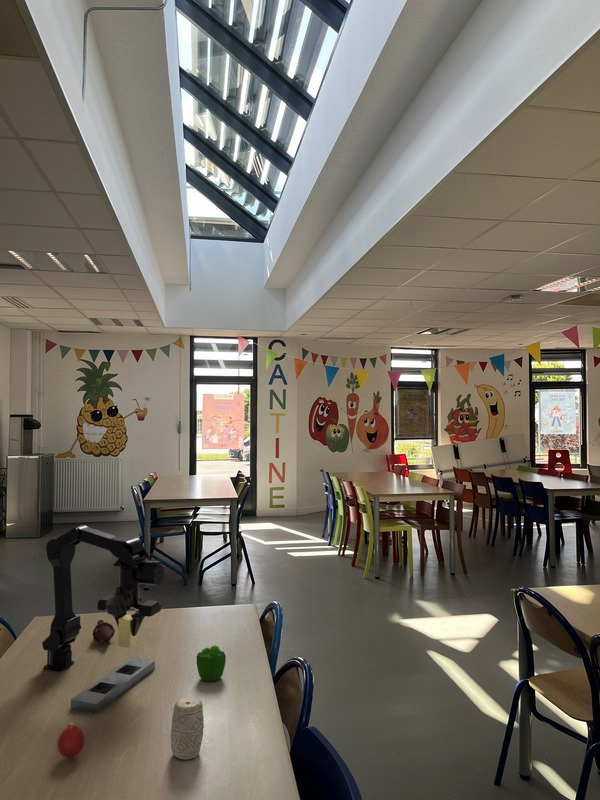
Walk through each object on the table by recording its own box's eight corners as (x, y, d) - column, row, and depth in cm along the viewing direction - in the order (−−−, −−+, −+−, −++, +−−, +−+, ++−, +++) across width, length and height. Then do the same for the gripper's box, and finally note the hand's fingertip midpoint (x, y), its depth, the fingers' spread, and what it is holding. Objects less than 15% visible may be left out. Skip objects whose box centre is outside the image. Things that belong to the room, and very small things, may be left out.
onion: (62, 751, 132) (62, 716, 132) (87, 750, 132) (88, 715, 132) (53, 766, 126) (54, 730, 126) (80, 765, 126) (80, 729, 127)
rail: (70, 708, 151) (70, 699, 151) (132, 665, 177) (132, 657, 177) (96, 713, 148) (96, 704, 148) (154, 668, 175) (154, 660, 175)
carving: (204, 760, 129) (204, 706, 129) (169, 764, 127) (171, 709, 128) (202, 744, 135) (203, 693, 135) (170, 748, 134) (171, 696, 134)
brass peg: (118, 646, 167) (118, 618, 168) (126, 641, 171) (126, 614, 171) (129, 648, 166) (130, 620, 166) (137, 642, 170) (138, 615, 170)
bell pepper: (191, 676, 170) (192, 643, 170) (215, 669, 175) (216, 636, 175) (204, 687, 163) (205, 652, 164) (229, 679, 168) (230, 645, 169)
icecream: (122, 627, 191) (111, 618, 204) (100, 626, 188) (90, 616, 200) (116, 649, 190) (106, 638, 202) (94, 648, 186) (85, 637, 199)
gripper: (85, 586, 164) (83, 640, 164) (140, 593, 159) (139, 649, 158) (109, 575, 175) (108, 627, 175) (162, 582, 169) (161, 635, 169)
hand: (128, 634), depth 169 cm, fingers closed on brass peg, 4 cm apart
